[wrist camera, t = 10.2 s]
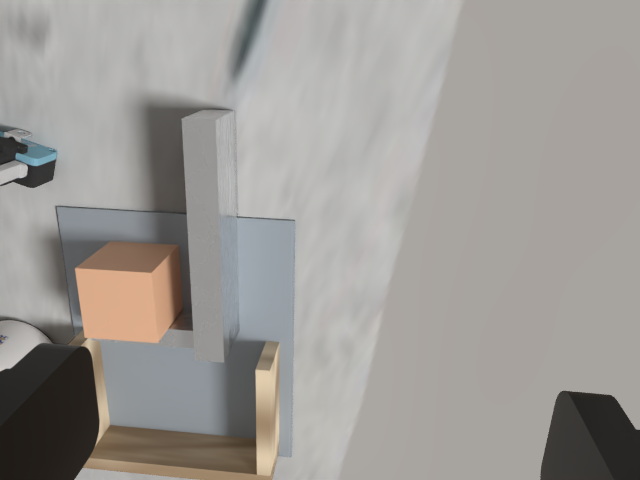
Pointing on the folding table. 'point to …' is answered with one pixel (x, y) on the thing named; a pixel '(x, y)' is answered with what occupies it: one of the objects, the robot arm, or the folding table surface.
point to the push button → (25, 160)
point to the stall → (191, 435)
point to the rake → (208, 239)
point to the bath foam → (17, 341)
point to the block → (130, 291)
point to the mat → (179, 363)
